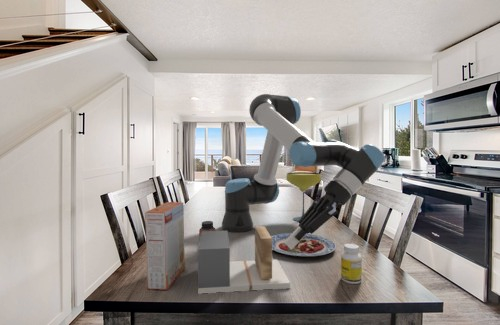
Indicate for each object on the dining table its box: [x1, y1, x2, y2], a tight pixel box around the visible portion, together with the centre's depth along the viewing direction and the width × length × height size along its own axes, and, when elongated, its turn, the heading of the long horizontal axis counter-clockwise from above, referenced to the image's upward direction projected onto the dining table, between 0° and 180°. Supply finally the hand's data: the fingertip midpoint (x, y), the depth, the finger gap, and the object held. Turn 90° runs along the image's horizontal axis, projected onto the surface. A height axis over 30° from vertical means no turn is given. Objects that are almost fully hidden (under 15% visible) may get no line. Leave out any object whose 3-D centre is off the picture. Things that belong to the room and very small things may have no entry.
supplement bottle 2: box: [340, 243, 363, 285], centre depth 76 cm, size 5×5×10 cm
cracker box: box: [144, 201, 186, 291], centre depth 77 cm, size 14×6×21 cm, turn 174°
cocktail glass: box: [286, 171, 322, 222], centre depth 146 cm, size 18×18×25 cm
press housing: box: [197, 230, 291, 295], centre depth 78 cm, size 24×16×12 cm, turn 97°
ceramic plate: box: [271, 232, 337, 257], centre depth 103 cm, size 26×26×3 cm
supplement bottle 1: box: [198, 220, 217, 243], centre depth 97 cm, size 6×6×11 cm
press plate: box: [254, 225, 273, 279], centre depth 79 cm, size 3×12×11 cm, turn 7°
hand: (287, 246), depth 79 cm, fingers closed
